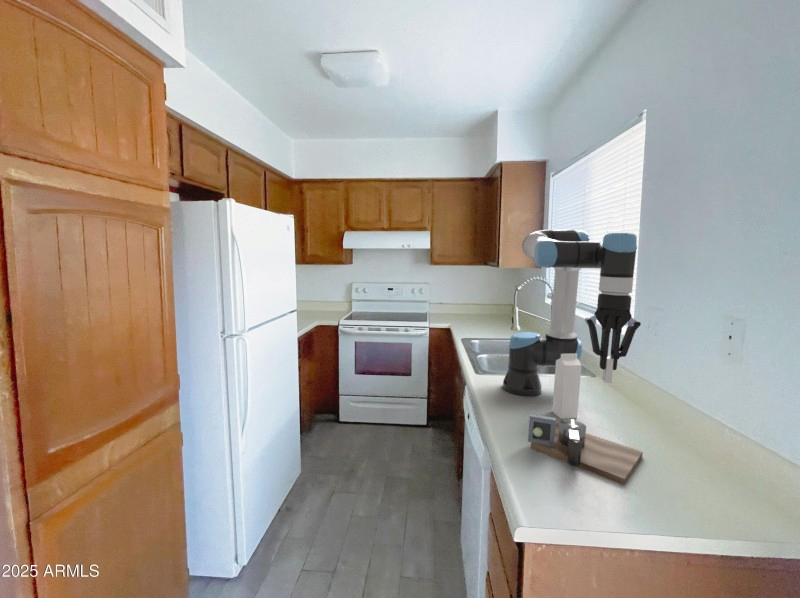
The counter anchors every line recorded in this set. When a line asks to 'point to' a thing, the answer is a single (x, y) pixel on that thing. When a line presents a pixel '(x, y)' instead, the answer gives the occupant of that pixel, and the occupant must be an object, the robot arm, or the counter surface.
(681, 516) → the counter surface
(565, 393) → the milk
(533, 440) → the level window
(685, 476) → the counter surface
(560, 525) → the counter surface
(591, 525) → the counter surface
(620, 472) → the stand board
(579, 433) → the crank handle
